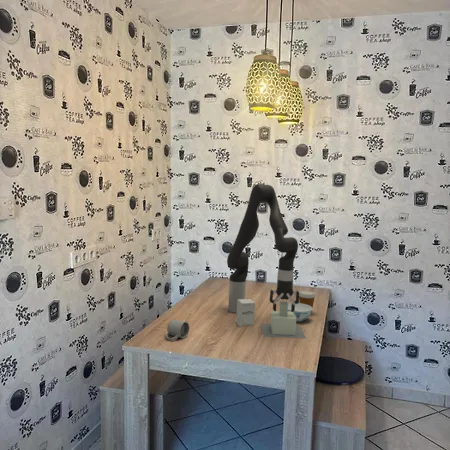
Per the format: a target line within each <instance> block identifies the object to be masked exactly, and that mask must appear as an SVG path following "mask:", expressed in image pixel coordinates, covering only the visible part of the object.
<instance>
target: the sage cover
mask: <svg viewBox="0 0 450 450" xmlns="http://www.w3.org/2000/svg"><path fill="white" fill-rule="evenodd" d="M269 324H270V327H271V331H272V334H279V335H295V333H296V325H297V321H296V317H295V315H294V313H293V312H290V311H288V302H287V300H286V301H284V300H283V301H282V300H279V310H276V311H274V310H270V322H269Z"/></svg>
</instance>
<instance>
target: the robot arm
mask: <svg viewBox="0 0 450 450" xmlns="http://www.w3.org/2000/svg"><path fill="white" fill-rule="evenodd" d="M261 203H264V204H265V203H266V204H267V205H268V208H269V219H268V220H269V225H270V228H271V230H272V232H273V234H274V235H273V236H274V243H275V249H277V251H278V252H280V253H282V254H283V253H285V254H284V255H283V256H281V257H279V259H278V270H277V277H276V279H277V281H276V283H277V284H276V290H275V289H270V290H269V291H270V292H269V303H271V304H272V311H277V303H278V302H280V301H281V300H286V301H287V300H289V301H290V303H292V304H291V312H293V311H294V310H295V304H298V303H299V291H300V290H298V289H297V290H293V289H294V262H295V259H296V256H297V253H298V248H299V243H298V240H297V239H296V238H295V237H291V236H290V237H285V236H286V235H287V234H288V232H289V229H288V226H287V224H286V222H285V220H284V217H283V215H282V213H281V209H280V206H279V201H278V199H277V194H276V191H275V188H274V187H273V186H272V185H270V184H262V183H261V184H259V183H258V184H255V185H254V186H253V187H252V189H251V191H250V196H249V199H248V203H247V206H246V211H245V213H244V217H243V219H242V221H241V224H240V225H239V226H240V227H239V230H238V231H237V235H236V238H235V240H234V243H233V245H232V247H231V249H230V251H229V253H228V255H227V259H226V263H227V267H228V268H229V269H230V270H235V271H233V272H232V273H231V274H230V275H229V285H228V286H229V287H228V308H227V309H228V310H227V312H230V313H231V312H232V313H234V314H235V313H236V314H237V299H246V290H247V289H246V286H247V285H246V284H247V277H248V273H249V263H250V262H249V261H250V259H249V256H248V254H247V253H246V252H245V249H246V247H247V246H248V245H249V244H250V243H251V242H252V241H253V239H255V237H256V235H257V232H258V231H259V230H258V229H259V227H260V221H259V217H258V208H259V206H260V204H261ZM275 294H276V296H275V298H274V299H273V297H274V295H275ZM293 294H294V296H295V300H294V299H293V298H292V297H293Z"/></svg>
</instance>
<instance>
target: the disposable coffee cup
mask: <svg viewBox="0 0 450 450" xmlns="http://www.w3.org/2000/svg"><path fill="white" fill-rule="evenodd" d="M298 291H299V303H302V304H306V305H309V306H311V307H312V309H313V307H314V302H315V297H316V292H315V291H311V290H307V289H306V290H303V289H302V290H298ZM312 312H313V311H312ZM312 312H311V314H310V316H312V314H313V313H312Z"/></svg>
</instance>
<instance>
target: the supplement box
mask: <svg viewBox="0 0 450 450" xmlns="http://www.w3.org/2000/svg"><path fill="white" fill-rule="evenodd" d="M255 309H256V302H255V301H253V300H252V299H251V298H245V299H237V313H236V321H235V322H236V324H237V325H238V327H243V326H254V325H255Z"/></svg>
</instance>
